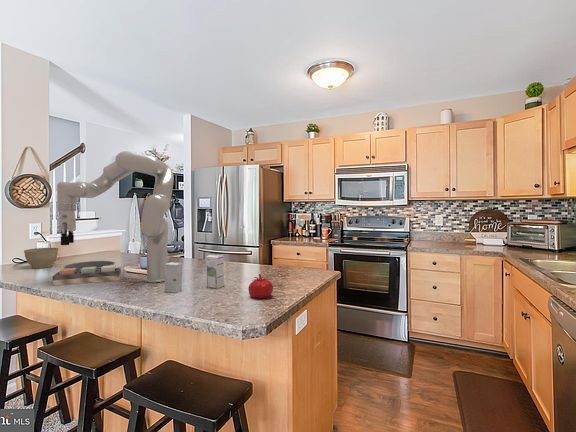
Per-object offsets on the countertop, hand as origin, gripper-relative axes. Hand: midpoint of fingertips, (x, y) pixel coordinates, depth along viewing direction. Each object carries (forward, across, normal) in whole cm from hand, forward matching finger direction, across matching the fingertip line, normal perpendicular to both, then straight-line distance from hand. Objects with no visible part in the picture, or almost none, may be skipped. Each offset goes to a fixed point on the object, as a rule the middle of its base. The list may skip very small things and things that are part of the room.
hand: (67, 243), depth 150 cm
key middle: (+14, 0, -9) cm, 17 cm away
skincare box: (+18, -37, -46) cm, 62 cm away
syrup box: (+18, -37, -64) cm, 76 cm away
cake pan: (+19, +24, -6) cm, 31 cm away
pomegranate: (+18, -60, -78) cm, 100 cm away
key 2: (+14, 0, -17) cm, 22 cm away
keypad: (+19, 0, -9) cm, 20 cm away
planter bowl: (+19, +51, +23) cm, 59 cm away
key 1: (+14, 0, 0) cm, 14 cm away
